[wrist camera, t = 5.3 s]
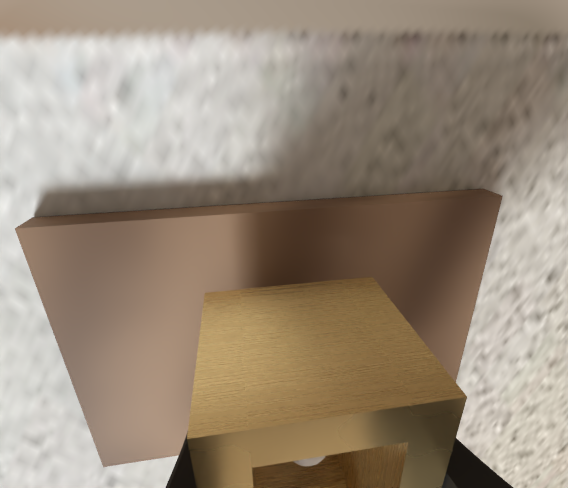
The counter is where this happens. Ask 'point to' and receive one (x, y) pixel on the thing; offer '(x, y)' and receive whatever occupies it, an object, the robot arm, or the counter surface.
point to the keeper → (233, 276)
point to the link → (318, 391)
